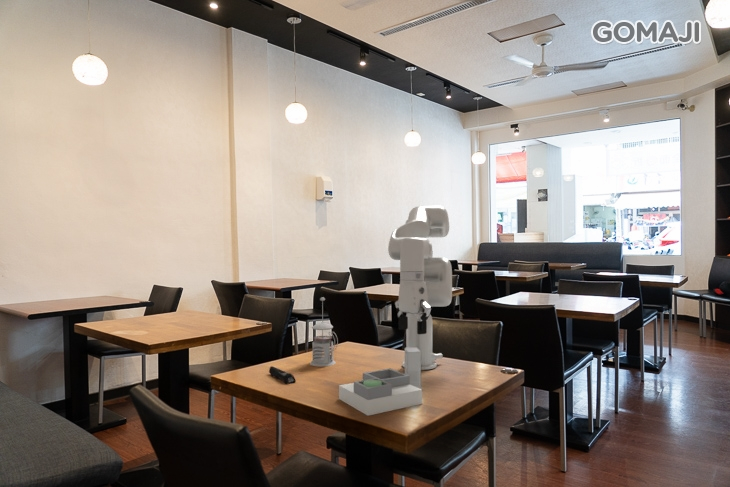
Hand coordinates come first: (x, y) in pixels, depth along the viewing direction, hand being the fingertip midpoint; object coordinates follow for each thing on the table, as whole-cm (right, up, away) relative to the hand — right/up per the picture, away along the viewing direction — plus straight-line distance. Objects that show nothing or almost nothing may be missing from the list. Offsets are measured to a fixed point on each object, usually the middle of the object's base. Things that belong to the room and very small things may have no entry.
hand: (412, 331), depth 152 cm
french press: (-30, -18, +31) cm, 47 cm away
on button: (-13, -13, -19) cm, 26 cm away
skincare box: (0, -18, 0) cm, 18 cm away
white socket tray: (-11, -18, -13) cm, 24 cm away
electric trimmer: (-43, -18, +11) cm, 48 cm away
